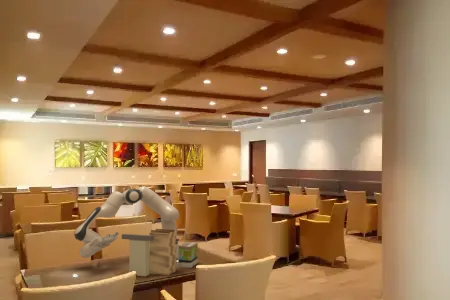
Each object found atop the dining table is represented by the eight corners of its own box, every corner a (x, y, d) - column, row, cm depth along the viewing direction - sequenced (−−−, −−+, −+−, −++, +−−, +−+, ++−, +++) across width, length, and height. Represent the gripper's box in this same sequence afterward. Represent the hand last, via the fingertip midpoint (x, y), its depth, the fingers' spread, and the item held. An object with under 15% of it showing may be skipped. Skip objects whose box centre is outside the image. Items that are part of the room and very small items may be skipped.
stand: (157, 269, 273) (157, 228, 274) (175, 271, 268) (175, 229, 269) (149, 273, 264) (149, 230, 265) (168, 275, 259) (168, 231, 260)
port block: (133, 273, 264) (133, 238, 265) (149, 274, 260) (149, 239, 261) (129, 274, 260) (129, 239, 261) (145, 276, 256) (145, 240, 257)
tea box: (192, 268, 276) (191, 246, 277) (177, 267, 278) (177, 245, 279) (197, 263, 291) (197, 242, 292) (184, 262, 293) (184, 241, 294)
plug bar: (124, 238, 267) (124, 233, 267) (153, 240, 259) (153, 235, 259) (121, 238, 264) (121, 234, 264) (151, 241, 256) (151, 236, 256)
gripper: (86, 241, 264) (101, 232, 259) (106, 236, 283) (120, 227, 278) (90, 250, 262) (105, 241, 258) (110, 245, 281) (124, 236, 277)
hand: (113, 234), depth 268 cm, fingers open, 8 cm apart
